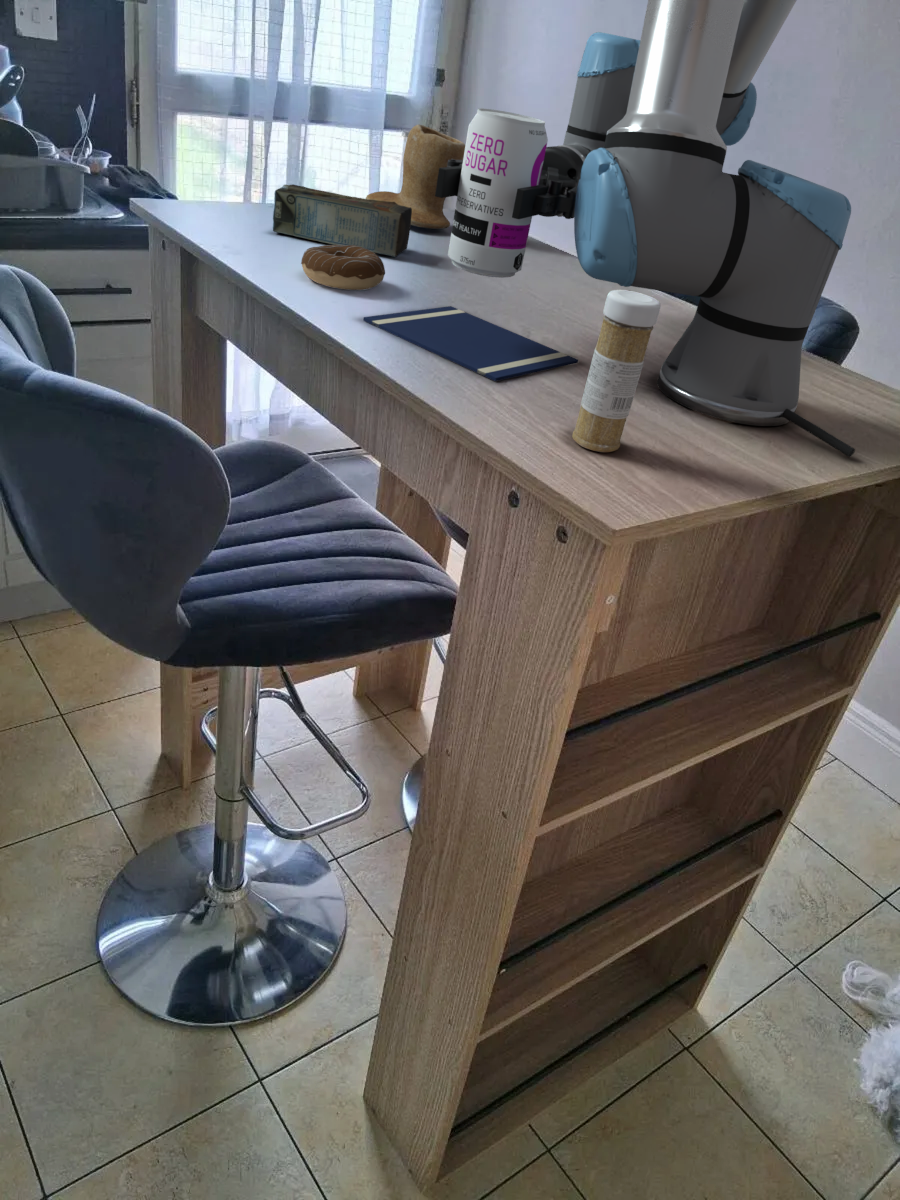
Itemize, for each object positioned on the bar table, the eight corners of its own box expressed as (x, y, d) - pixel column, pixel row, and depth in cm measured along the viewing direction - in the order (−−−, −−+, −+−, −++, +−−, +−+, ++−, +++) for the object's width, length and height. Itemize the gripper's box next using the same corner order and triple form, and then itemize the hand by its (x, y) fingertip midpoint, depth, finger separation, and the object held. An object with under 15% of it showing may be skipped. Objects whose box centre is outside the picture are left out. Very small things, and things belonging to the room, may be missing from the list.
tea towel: (577, 363, 103) (578, 359, 102) (495, 381, 92) (496, 377, 92) (450, 309, 112) (450, 305, 112) (363, 320, 102) (363, 316, 102)
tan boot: (466, 235, 153) (483, 138, 145) (407, 233, 147) (421, 131, 139) (419, 213, 163) (432, 121, 155) (362, 210, 156) (372, 114, 148)
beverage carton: (287, 224, 137) (290, 177, 134) (409, 250, 136) (415, 204, 133) (270, 233, 130) (273, 184, 127) (398, 260, 130) (405, 212, 126)
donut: (380, 300, 111) (384, 266, 108) (294, 285, 110) (297, 251, 107) (385, 279, 119) (389, 247, 117) (306, 265, 118) (308, 233, 116)
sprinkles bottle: (607, 434, 85) (648, 291, 78) (627, 455, 81) (671, 306, 74) (563, 432, 84) (600, 285, 76) (581, 453, 80) (621, 301, 73)
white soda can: (521, 267, 102) (551, 120, 94) (518, 284, 95) (550, 127, 87) (451, 253, 102) (475, 104, 94) (443, 269, 95) (468, 110, 87)
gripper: (631, 235, 107) (564, 259, 89) (476, 193, 113) (384, 207, 96) (650, 167, 103) (583, 177, 85) (487, 127, 109) (394, 129, 92)
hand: (478, 193), depth 90 cm, fingers closed on white soda can, 8 cm apart
